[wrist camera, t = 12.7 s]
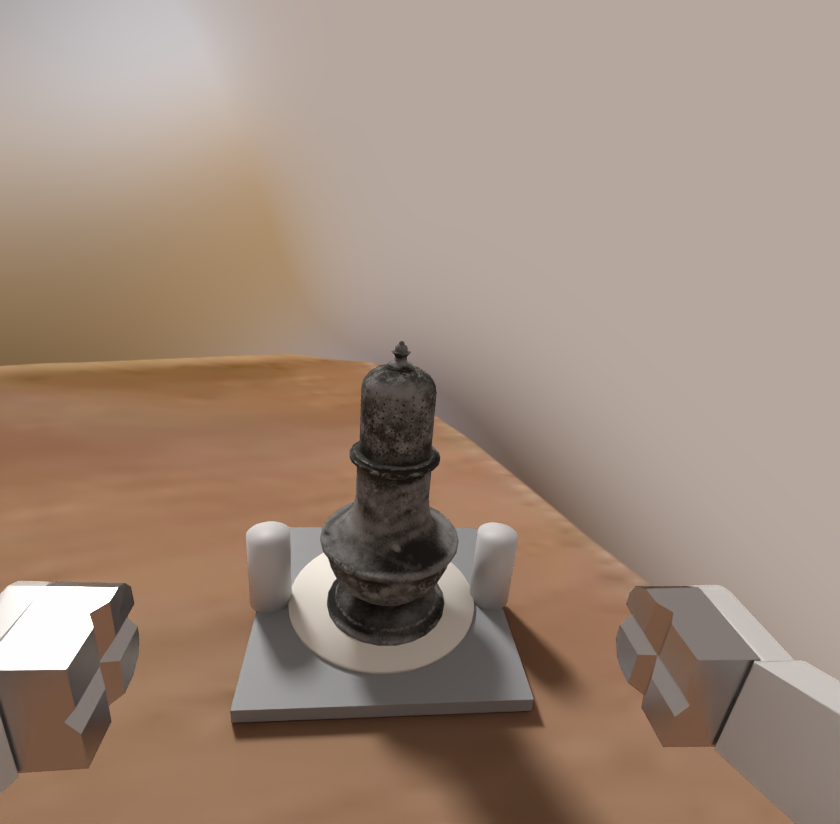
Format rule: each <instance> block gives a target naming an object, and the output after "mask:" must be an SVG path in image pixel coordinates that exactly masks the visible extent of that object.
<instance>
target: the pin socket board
mask: <svg viewBox="0 0 840 824" xmlns="http://www.w3.org/2000/svg"><path fill="white" fill-rule="evenodd" d="M455 529H456V532H457V536H458V540H459V542H458V547H457V553H456V555H455V556H454V558H453V559H452V561H451V562H450V563H449V564H448V566H447V569H446V570H445V572H444V573H443V575H442V576H441V578H440V580H439V581H438V582H437V583H438V585H439V587H440V589H441V590H442V592H443V597H444V609H443V614H442V617H441V619H440V620H439V622H438V624H437V625H436V627H435V628H434V629H432V630H431V631H430V632H429V633H428V634H427V635H425V636H423V637H421V638H419V639H417V640H415V641H413V642H410V643H405V644H401V645H397V646H377V645H372V644H367V643H363V642H360V641H358V640H356V639H354V638H351V637H349V636H347V635H346V634H345V633H344V632H342V631H341V630H340V629H339V628H337V627H336V625H335V624H334V622H333V621H332V619H331V618H330V616H329V612H328V608H327V598H328V591H329V590H330V588H331V586H332V584H333V582H334V581H335V580H336V577H335V575H334V573H333V571H332V569H331V566H330V563H329V560H328V558H327V556H326V555H325V554H324V552H323V549H322V546H321V542H320V536H321V530H322V528H297V527H288V526H286V525H285V524H283V523H280V522H273V521H271V522H263V523H259V524H257V525H255V526H253V527H251V528H250V529H249V530H248V532H247V534H246V544H247V560H248V576H249V592H250V604H251V607H252V608H253V609H254V610H255V611H256V615H255V619H254V623H253V627H252V630H251V634H250V638H249V642H248V646H247V649H246V653H245V657H244V661H243V665H242V668H241V672H240V676H239V680H238V684H237V687H236V691H235V695H234V699H233V703H232V706H231V710H230V712H231V723H238V722H262V721H287V720H312V719H337V718H362V717H387V716H412V715H437V714H462V713H487V712H512V711H531V710H532V705H533V701H534V698H533V695H532V693H531V690H530V687H529V684H528V681H527V678H526V675H525V672H524V669H523V666H522V663H521V660H520V657H519V654H518V651H517V648H516V645H515V643H514V640H513V637H512V634H511V631H510V628H509V625H508V622H507V619H506V616H505V613H504V610H503V607H504V606H505V605H506V603H507V600H508V595H509V589H510V583H511V577H512V571H513V566H514V560H515V554H516V548H517V542H518V534H517V532H516V531H515V530H514V529H512V528H511V527H509V526H507V525H505V524H501V523H486V524H483V525H482V526H480V527H479V529H478V534H477V531H476V528H455Z"/></svg>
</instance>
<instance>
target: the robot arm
mask: <svg viewBox="0 0 840 824" xmlns="http://www.w3.org/2000/svg"><path fill="white" fill-rule="evenodd" d="M133 605H134V600H133V595H132V590H131V586H129V585H127V584H125V583H101V582H66V581H55V582H41V581H18V582H15V583H13V584H11V585H9V586H7V587H6V588H5V589H4V590H3V591H2V593H1V594H0V794H1V793H2V792H3V791H4V790H5V789H6V788H7V787H8V786H9V785H11V784H12V783H13V782H14V781H15V780H16V779H17V778H18V777H19V775H18V773H27V772H42V771H57V770H72V769H87V768H89V767H90V765H91V762H92V760H93V758H94V756H95V754H96V752H97V750H98V748H99V746H100V744H101V742H102V740H103V738H104V736H105V734H106V732H107V730H108V727H109V725H110V723H111V717H110V711H109V705H110V704H112V703H113V702H114V701H116V700H117V699H118V698H119V697H121V696H122V695H123V694H124V693H125V692H126V690H127V688H128V685H129V683H130V681H131V679H132V677H133V674H134V670H135V666H136V662H137V658H138V653H139V633H138V626H137V625H135V624H134V623H133V622H132V621H131V620H130V619H129V618H128V617H127V616H128V614H129V612H130V611H131V609H132V607H133ZM626 605H627V606H628V608H629V610H630V612H631V615H630V616H629V617H628V618H626V619H625V620H624V621H623V622H622V623H621V624H620V626H619V630H618V634H617V637H616V648H617V658H618V661H619V664H620V667H621V670H622V672H623V674H624V676H625V678H626V680H627V682H628V683H629V684H630V685H631V686H633V687H634V688H635V689H637V690H638V691H639V692H640V693H642V694H643V701H642V707H641V708H642V709H643V711H644V713H645V715H646V717H647V719H648V720H649V722H650V724H651V726H652V728H653V729H654V731H655V733H656V735H657V737H658V739H659V740H660V742H661V744H662V746H663V747H715V748H714V750H715V751H716V752H717V753H718V754H719V755H720V756H722V757H723V758H724V759H725V760H726V761H727V762H728V763H729V764H730V765H732V766H733V767H734V768H735V769H736V770H737V771H738V772H739V773H740V774H741V775H743V776H744V777H745V778H746V779H747V780H748V781H749V782H750V783H751V784H752V785H754V786H755V787H756V788H757V789H758V790H759V791H760V792H761V793H762V794H764V795H765V796H766V797H767V798H768V799H769V800H770V801H771V802H772V803H773V804H775V805H776V806H777V807H778V808H779V809H780V810H781V811H782V812H783V813H784V814H786V815H787V816H788V817H789V818H790V819H791V820H792V821H793V822H794V823H796V824H840V681H838V680H836V679H835V678H833V677H831V676H829V675H827V674H826V673H824V672H822V671H821V670H819V669H817V668H815V667H814V666H812V665H810V664H808V663H806V662H805V661H794V660H793V659H792V658H791V657H790V656H789V654H788V653H787V652H786V651H785V650H784V649H783V648H782V647H781V646H780V645H779V644H778V643H777V642H776V640H775V639H774V638H773V637H772V636H771V635H770V634H769V633H768V632H767V631H766V630H765V629H764V627H763V626H762V625H761V624H760V623H759V622H758V621H757V620H756V619H755V618H754V617H753V616H752V615H751V614H750V612H749V611H748V610H747V609H746V608H745V607H744V606H743V605H742V604H741V603H740V602H739V601H738V600H737V598H735V596H734V595H733V594H732V593H731V592H730V591H729V590H728V589H726V588H724V587H722V586H720V585H692V586H636V587H635V588H634V589H633V590H632V591H631V592H630V594H629V597H628V600H627V603H626Z"/></svg>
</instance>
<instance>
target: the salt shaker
mask: <svg viewBox="0 0 840 824" xmlns="http://www.w3.org/2000/svg"><path fill="white" fill-rule="evenodd" d="M407 349H408V348H407V346H406V345H404V342H403V341H400V342H399V344H398V345H397V346H396V347H395V350H393V351H392V352H393V353H394V355H395V359H394V360H393V361H390V362H389V363H388V364H384V365H380V366H378V367H376V368H374V369H373V370H371V371H370V372H369V373H368V374H367V375H366V376H365V378H364V379H363V383H362V388H361V418H360V441H358V442H357V443H355V444H354V445H353V446H352V448H351V449H350V459H351V461H352V463H354V464H355V465H356V466H357V483H356V496H355V501H354V503H350V504H348V505H346V506H344V507H342V508H340V509H339V510H337V511H336V512H335V513H334V514H333V515H331V516H330V517H329V518H328V519H327V521H326V522H325V524H324V525H323V527H322V530H321V536H320V542H321V546H322V549H323V552H324V554H325V555H326V556H327V558H328V560H329V563H330V566H331V569H332V571H333V573H334V575H335V577H336V580H335V581H334V582H333V584H332V586H331V588H330V590H329V591H328V598H327V608H328V612H329V616H330V618H331V619H332V621H333V622H334V624H335V625H336V627H337V628H339V629H340V630H341V631H342V632H344V633H345V634H346V635H347V636H349V637H351V638H354V639H356V640H358V641H360V642H363V643H367V644H372V645H377V646H397V645H401V644H405V643H410V642H413V641H415V640H417V639H419V638H421V637H423V636H425V635H427V634H428V633H429V632H430V631H431V630H432V629H434V628H435V627H436V625H437V624H438V622H439V620H440V619H441V617H442V614H443V609H444V597H443V592H442V590H441V589H440V587H439V585H438V583H437V582H438V581H439V580H440V578H441V576H442V575H443V573H444V572H445V570H446V569H447V566H448V564H449V563H450V562H451V561H452V559H453V558H454V556H455V555H456V553H457V547H458V542H459V540H458V536H457V532H456V529H455V528H454V526H453V525H452V523H451V522H450V521H449V519H447V518H446V517H445V516H444V515H443V514H441V513H440V512H439V511H437V510H435V509H433V508H432V507H430V506H429V490H430V479H431V471H433V470H434V469H435V468H436V467H437V466H438V465H439V461H440V455H439V452H438V451H437V450H436V449H435V448H434V447H433V446H432V437H433V426H434V414H435V403H436V386H435V383H434V381H433V379H432V378H431V376H430V375H429V374H428V373H426V372H425V371H423V370H422V369H420V368H418V367H416V366H413V364H412V363H411V362H408V361H407V356H408V355H409V354H410V353H411V352H410V351H408V350H407Z"/></svg>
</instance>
